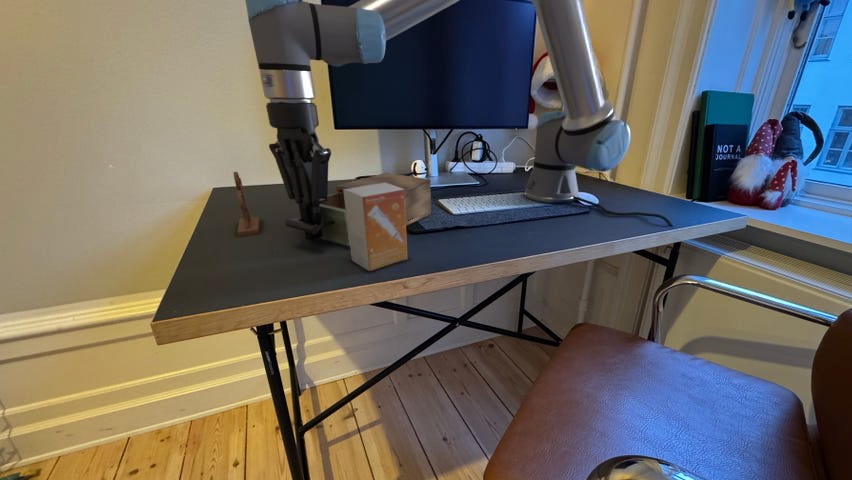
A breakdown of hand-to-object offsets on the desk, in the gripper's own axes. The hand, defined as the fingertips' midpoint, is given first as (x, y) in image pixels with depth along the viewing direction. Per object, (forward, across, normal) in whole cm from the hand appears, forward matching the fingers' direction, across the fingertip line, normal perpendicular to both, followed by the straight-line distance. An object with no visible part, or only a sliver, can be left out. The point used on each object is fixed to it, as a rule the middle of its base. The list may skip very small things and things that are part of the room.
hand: (314, 237), depth 70 cm
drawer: (+1, 0, +7) cm, 7 cm away
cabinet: (+2, 0, +21) cm, 21 cm away
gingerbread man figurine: (+2, -21, 0) cm, 21 cm away
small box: (+2, +14, +2) cm, 14 cm away
